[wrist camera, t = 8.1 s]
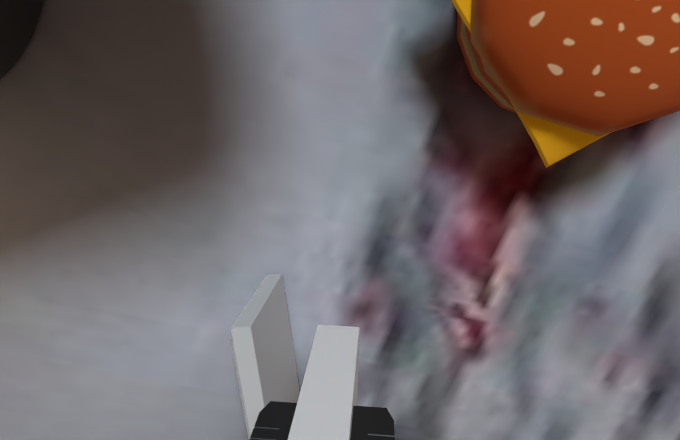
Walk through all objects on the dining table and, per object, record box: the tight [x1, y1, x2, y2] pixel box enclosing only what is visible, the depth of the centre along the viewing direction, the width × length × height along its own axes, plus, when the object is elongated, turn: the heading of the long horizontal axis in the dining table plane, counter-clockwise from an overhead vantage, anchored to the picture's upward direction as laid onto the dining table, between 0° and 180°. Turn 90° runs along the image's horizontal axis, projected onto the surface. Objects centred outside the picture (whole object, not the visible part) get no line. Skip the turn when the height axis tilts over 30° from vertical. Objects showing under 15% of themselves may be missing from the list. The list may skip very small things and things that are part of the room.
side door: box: [230, 274, 300, 439], centre depth 21 cm, size 1×11×6 cm, turn 6°
